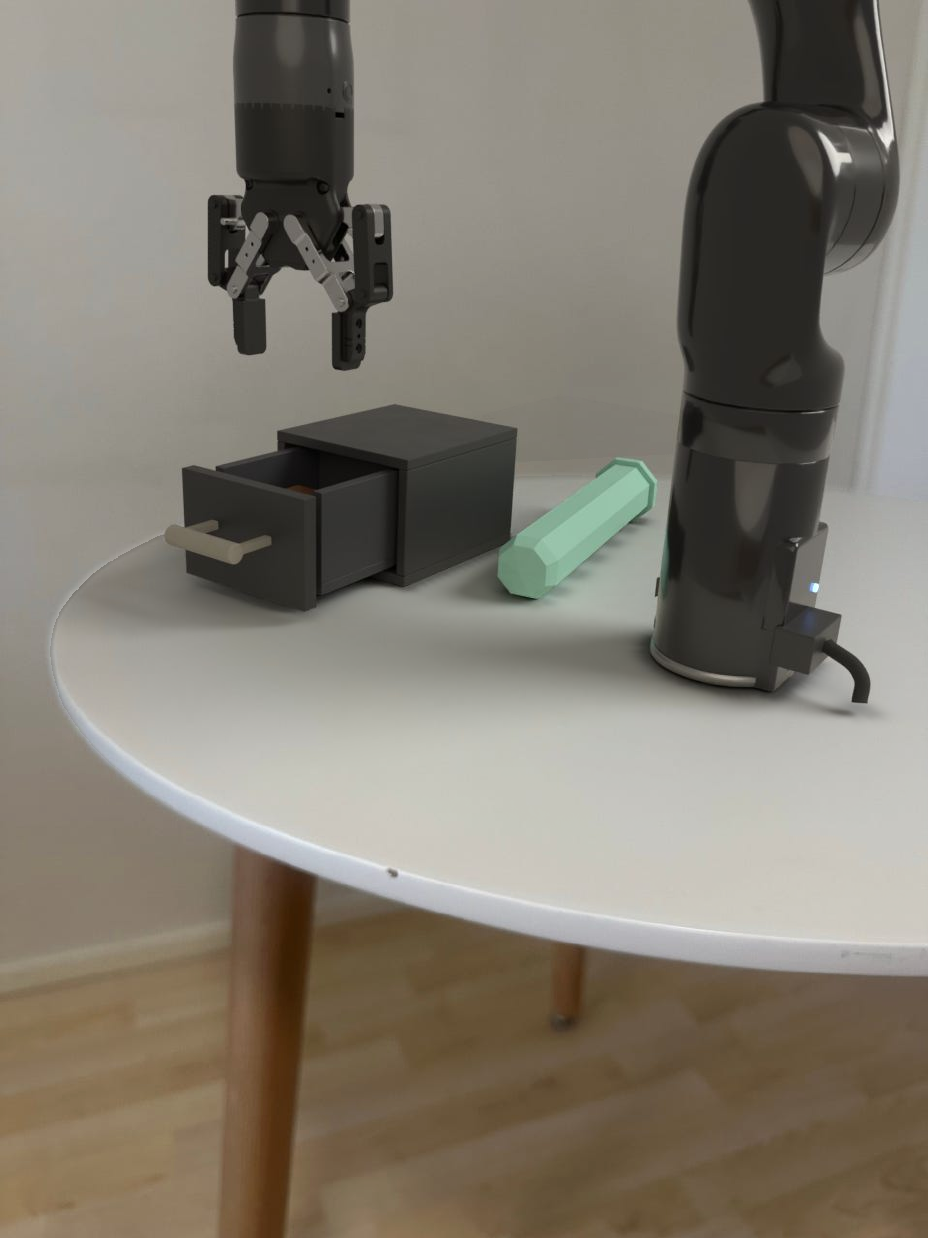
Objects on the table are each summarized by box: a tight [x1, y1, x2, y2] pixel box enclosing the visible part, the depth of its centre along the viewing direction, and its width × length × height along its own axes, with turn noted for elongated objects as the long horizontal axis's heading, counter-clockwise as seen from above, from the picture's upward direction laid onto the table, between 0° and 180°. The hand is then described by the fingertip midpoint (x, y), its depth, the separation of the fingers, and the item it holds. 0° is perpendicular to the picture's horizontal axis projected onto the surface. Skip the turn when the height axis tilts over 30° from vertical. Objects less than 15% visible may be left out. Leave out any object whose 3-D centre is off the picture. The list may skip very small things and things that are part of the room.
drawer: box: [164, 446, 400, 613], centre depth 82 cm, size 18×11×8 cm, turn 145°
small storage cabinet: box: [276, 403, 519, 588], centre depth 92 cm, size 15×13×10 cm
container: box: [497, 456, 658, 600], centre depth 93 cm, size 6×6×25 cm
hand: (298, 361), depth 79 cm, fingers open, 8 cm apart
